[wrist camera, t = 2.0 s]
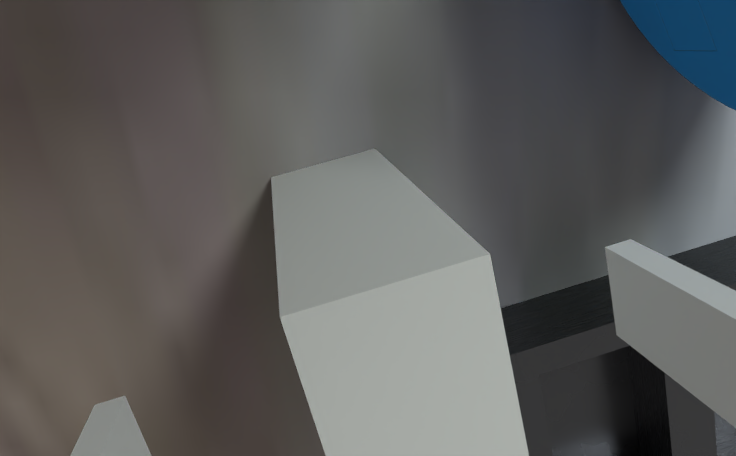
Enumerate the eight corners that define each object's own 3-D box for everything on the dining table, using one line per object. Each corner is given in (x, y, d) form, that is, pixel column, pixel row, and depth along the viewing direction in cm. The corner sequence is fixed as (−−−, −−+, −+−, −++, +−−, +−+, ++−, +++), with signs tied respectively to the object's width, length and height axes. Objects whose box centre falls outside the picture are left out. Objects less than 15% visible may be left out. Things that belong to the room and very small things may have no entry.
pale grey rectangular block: (269, 177, 22) (277, 318, 11) (376, 147, 22) (492, 252, 11) (319, 340, 24) (370, 598, 13) (416, 310, 25) (546, 537, 13)
